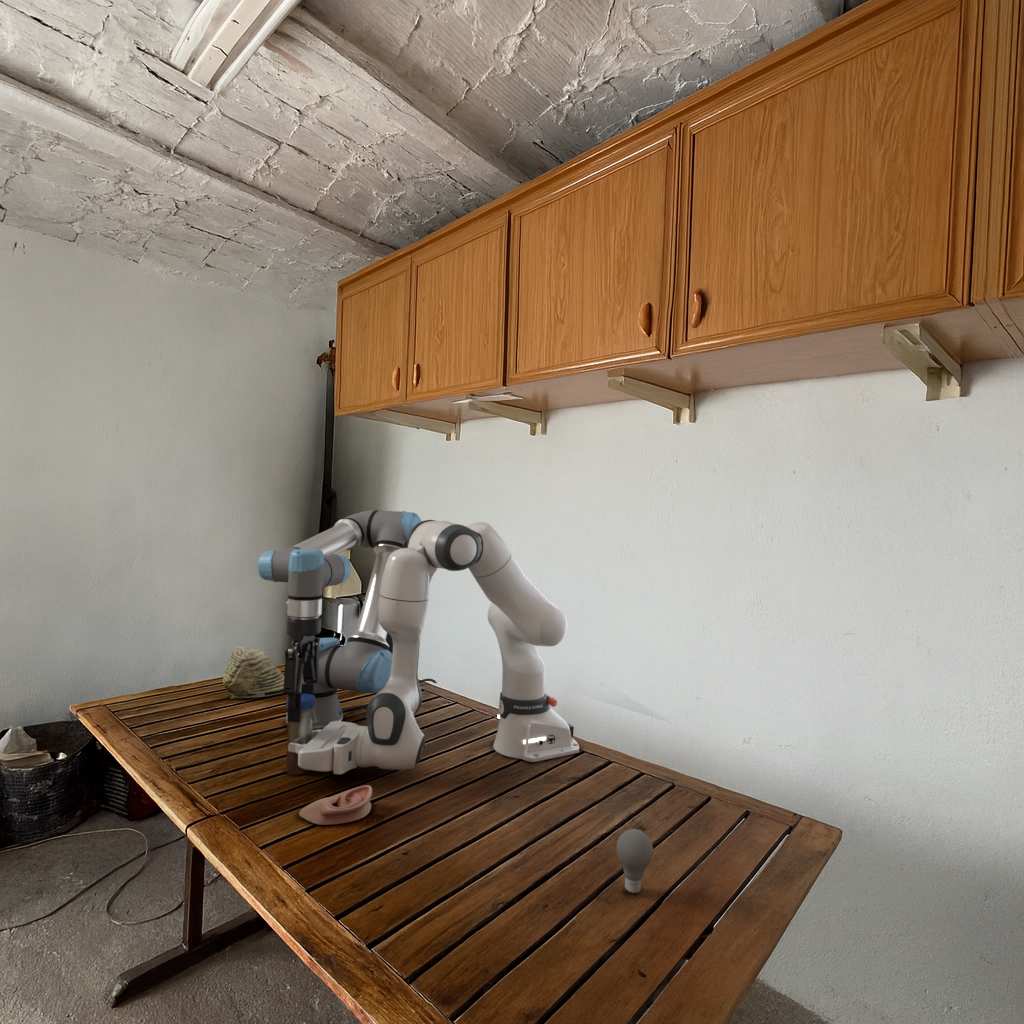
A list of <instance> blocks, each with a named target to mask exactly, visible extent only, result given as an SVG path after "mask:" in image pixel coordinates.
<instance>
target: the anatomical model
mask: <svg viewBox="0 0 1024 1024" xmlns="http://www.w3.org/2000/svg"><path fill="white" fill-rule="evenodd" d="M372 795H373V787H372V786H371V785H369V784H367V785H366V784H365V785H361V786H356V787H354V788H351V789H350V788H349V789H347V790H345V791H341V792H340V793H337V794H334V795H332V796H329V797H328V796H327V797H323V798H320V799H317V800H315V801H313V802H311V803H309V804H307V805H306V806H304V807H303V808H301V809H300V810H299V812H298V815H299V817H300V818H302V819H304V820H306V821H307V822H310V823H311V824H315V825H319V826H328V825H339V824H346V823H351V822H354V821H357V820H361V819H363V818H365V817H366V816H367V815H368V814H369V813H370V812H371V809H372V803H371V798H372V797H373V796H372Z"/></svg>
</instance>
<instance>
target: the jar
mask: <svg viewBox="0 0 1024 1024" xmlns="http://www.w3.org/2000/svg"><path fill="white" fill-rule="evenodd" d="M312 724H313V708H312V709H309V710H304V711H301V718H300V722H299V723H297V722H288V727H287V734H286V760H285V761H286V762H285V764H286V765H285V772H286V774H288V775H290V776H300V775H305V774H307V773H309V772H311V770H307V769H302V768H300V767H299V766H298V754H297V753H295V752H289V751H288V745H289V744H290V743H291V742H298V744H301V745H303V744H307V743H308V742H309V741H311V740H312Z"/></svg>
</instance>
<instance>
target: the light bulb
mask: <svg viewBox="0 0 1024 1024" xmlns="http://www.w3.org/2000/svg"><path fill="white" fill-rule="evenodd" d="M615 849H616V854H617V857H618V859H619V861H620V863H621V865H622V867H623V873H624V874H623V875H624V876H625V878H624V888H625V890H627V891H628V892H630V893H634V894H635V893H639V892H640V891H641V889H642V887H641V886H642V879H643V877H644V875H645V871H646V868H647V867H648V866H649V864H650V863H651V861H652V859H653V855H654V847H653V843H652V841H651V838H649V836H648V835H647V834H646V833H645V832H643V831H642V830H641V829H636V828H629V829H627V830H625V831H623V832H622V833H621V834H620V835H619V837H618V839H617V841H616V847H615Z"/></svg>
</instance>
